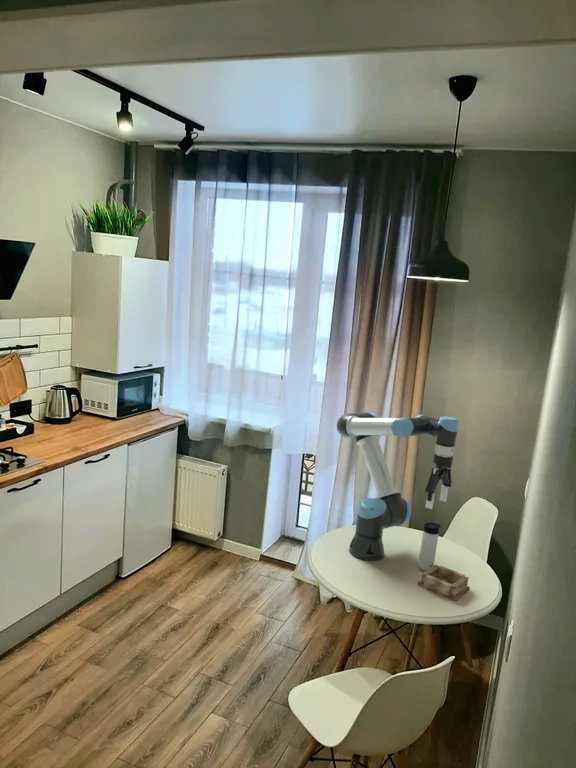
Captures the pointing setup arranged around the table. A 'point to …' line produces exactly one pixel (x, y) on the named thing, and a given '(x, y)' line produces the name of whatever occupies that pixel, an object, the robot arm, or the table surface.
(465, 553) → the table surface
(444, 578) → the holder
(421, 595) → the table surface
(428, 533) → the travel mug
